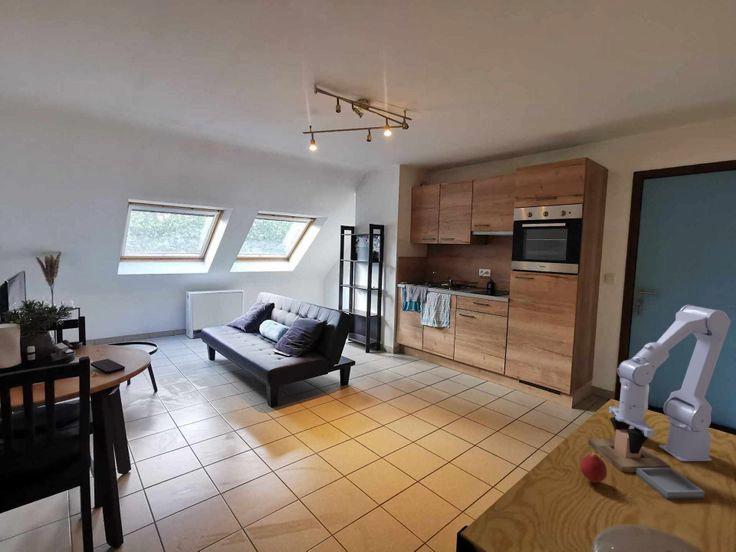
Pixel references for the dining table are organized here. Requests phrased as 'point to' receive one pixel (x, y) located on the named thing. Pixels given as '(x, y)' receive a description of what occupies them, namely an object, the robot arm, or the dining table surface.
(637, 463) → the board
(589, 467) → the red pomegranate
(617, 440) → the block
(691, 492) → the tray
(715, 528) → the dining table surface
